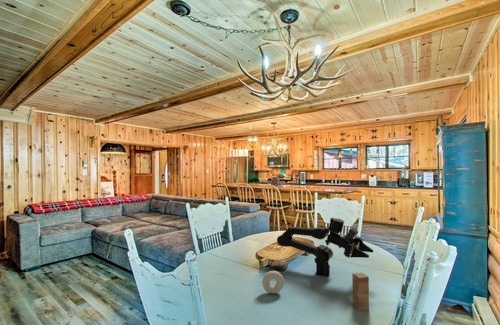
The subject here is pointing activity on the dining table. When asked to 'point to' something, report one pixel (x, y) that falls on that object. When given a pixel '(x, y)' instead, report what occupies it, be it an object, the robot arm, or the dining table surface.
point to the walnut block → (360, 291)
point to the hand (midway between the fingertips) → (371, 253)
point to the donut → (274, 288)
